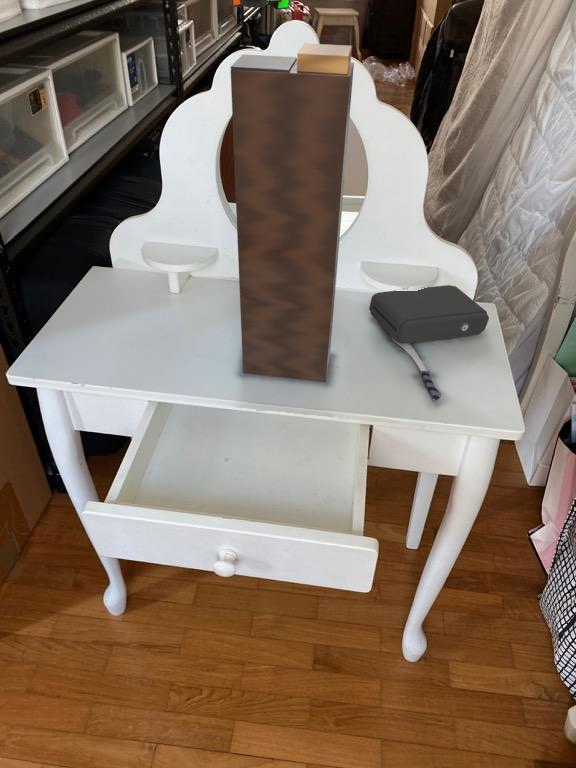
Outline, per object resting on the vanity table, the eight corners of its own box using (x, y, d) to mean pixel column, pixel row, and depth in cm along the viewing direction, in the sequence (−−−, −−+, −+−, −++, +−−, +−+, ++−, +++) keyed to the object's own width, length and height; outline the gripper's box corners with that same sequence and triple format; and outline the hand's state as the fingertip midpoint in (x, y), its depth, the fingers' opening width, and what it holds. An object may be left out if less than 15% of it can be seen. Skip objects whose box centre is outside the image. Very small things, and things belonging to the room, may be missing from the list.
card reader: (397, 349, 78) (484, 337, 84) (405, 324, 76) (494, 313, 82) (365, 314, 85) (448, 305, 91) (371, 290, 82) (455, 282, 88)
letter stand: (242, 373, 76) (229, 50, 52) (251, 348, 81) (242, 39, 56) (325, 382, 75) (351, 57, 51) (329, 356, 79) (355, 44, 55)
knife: (449, 402, 73) (451, 396, 72) (431, 404, 72) (433, 398, 72) (389, 317, 87) (391, 312, 86) (374, 318, 86) (376, 313, 86)
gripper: (229, -258, 47) (236, -10, 58) (179, -306, 36) (199, 11, 47) (321, -258, 47) (310, -6, 57) (298, -306, 36) (290, 16, 46)
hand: (260, 0), depth 52 cm, fingers closed on rubik's cube, 5 cm apart
